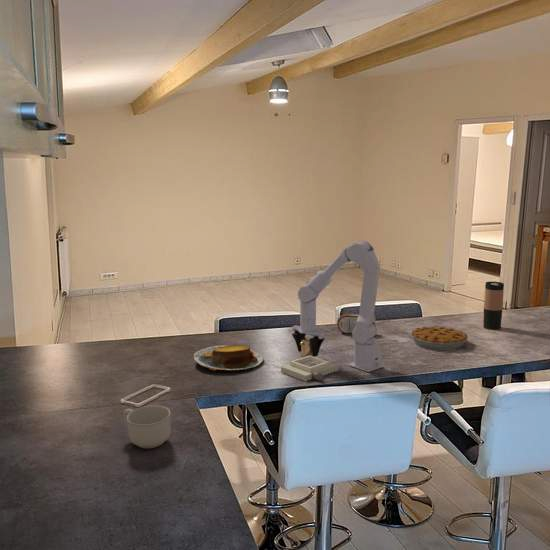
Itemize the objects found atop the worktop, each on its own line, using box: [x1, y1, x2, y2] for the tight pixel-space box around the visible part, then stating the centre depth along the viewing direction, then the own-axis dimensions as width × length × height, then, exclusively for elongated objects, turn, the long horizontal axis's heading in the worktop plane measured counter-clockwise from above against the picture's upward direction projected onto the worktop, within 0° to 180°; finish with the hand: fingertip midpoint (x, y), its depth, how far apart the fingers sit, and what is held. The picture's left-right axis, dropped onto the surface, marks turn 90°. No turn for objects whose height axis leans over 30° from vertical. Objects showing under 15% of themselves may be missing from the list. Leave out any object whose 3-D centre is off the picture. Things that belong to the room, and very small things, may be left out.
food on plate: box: [193, 344, 264, 372], centre depth 207 cm, size 25×25×7 cm
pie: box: [410, 326, 468, 351], centre depth 229 cm, size 22×22×5 cm
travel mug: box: [482, 281, 505, 331], centre depth 250 cm, size 8×8×20 cm
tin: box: [336, 313, 359, 334], centre depth 243 cm, size 15×3×8 cm, turn 84°
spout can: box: [300, 337, 313, 358], centre depth 211 cm, size 5×6×7 cm
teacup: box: [122, 404, 172, 450], centre depth 145 cm, size 14×11×8 cm
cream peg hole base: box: [280, 356, 340, 382], centre depth 196 cm, size 15×16×4 cm
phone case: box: [120, 384, 171, 408], centre depth 176 cm, size 7×1×15 cm
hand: (307, 353), depth 211 cm, fingers open, 7 cm apart
